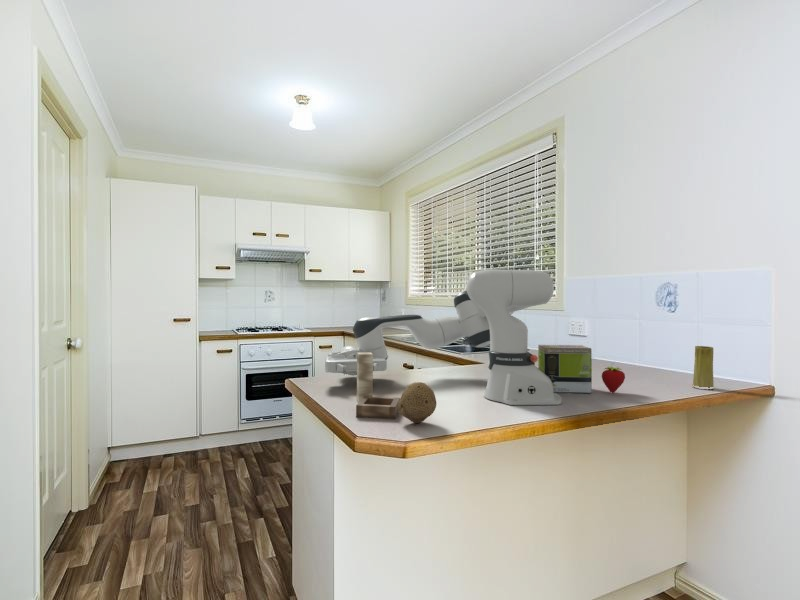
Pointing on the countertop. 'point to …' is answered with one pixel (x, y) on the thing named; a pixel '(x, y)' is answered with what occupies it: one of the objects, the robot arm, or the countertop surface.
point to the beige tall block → (364, 375)
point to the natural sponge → (417, 402)
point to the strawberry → (613, 378)
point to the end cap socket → (377, 407)
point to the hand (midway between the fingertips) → (358, 368)
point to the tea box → (567, 367)
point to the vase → (703, 367)
